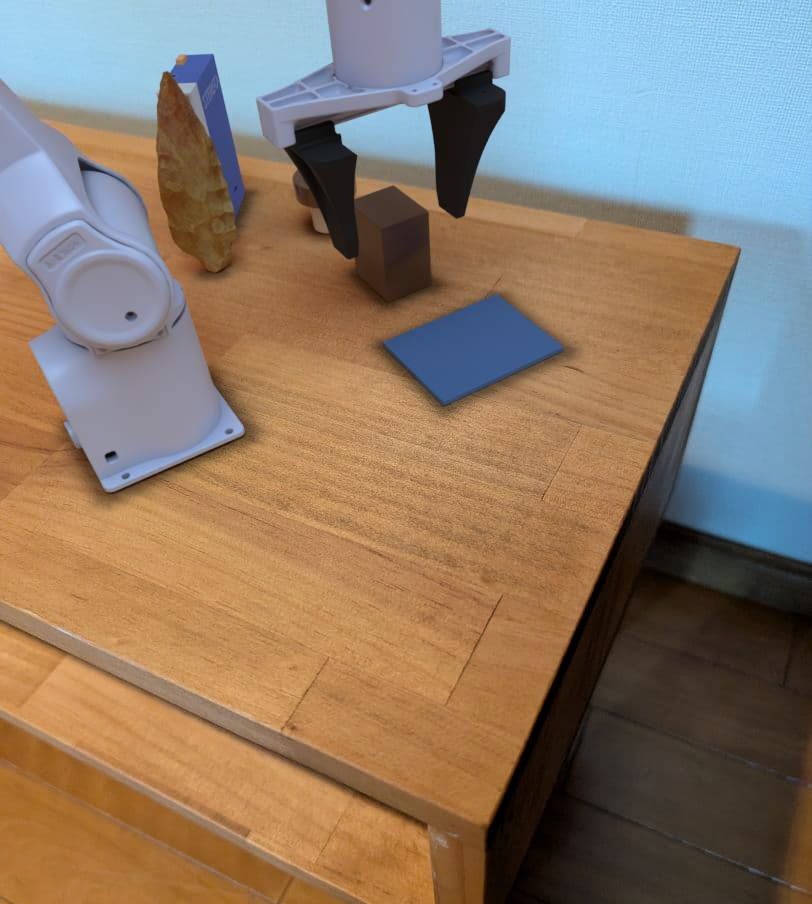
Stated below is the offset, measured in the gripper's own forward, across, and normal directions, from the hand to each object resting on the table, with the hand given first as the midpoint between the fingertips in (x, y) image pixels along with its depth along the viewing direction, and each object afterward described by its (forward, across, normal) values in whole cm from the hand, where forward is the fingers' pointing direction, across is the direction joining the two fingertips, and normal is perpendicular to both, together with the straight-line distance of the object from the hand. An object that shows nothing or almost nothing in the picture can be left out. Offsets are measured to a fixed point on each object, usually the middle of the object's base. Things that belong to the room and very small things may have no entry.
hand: (400, 230), depth 48 cm
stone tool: (+10, -7, +19) cm, 22 cm away
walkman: (+10, -3, +27) cm, 29 cm away
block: (+9, +4, +9) cm, 14 cm away
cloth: (+9, +4, -2) cm, 10 cm away
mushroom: (+9, +4, +20) cm, 22 cm away
